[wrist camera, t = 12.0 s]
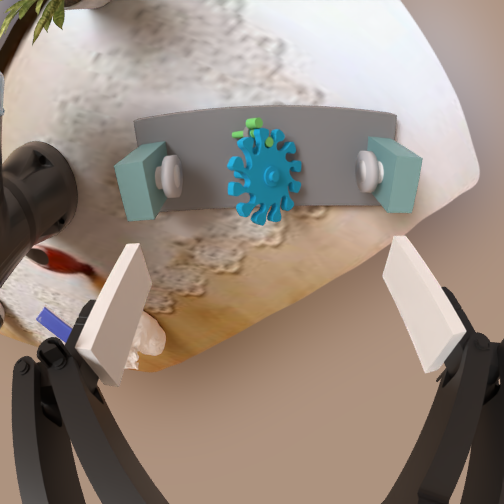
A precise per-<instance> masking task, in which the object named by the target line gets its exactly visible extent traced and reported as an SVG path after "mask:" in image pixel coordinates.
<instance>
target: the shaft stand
mask: <svg viewBox="0 0 504 504" xmlns="http://www.w3.org/2000/svg"><path fill="white" fill-rule="evenodd" d="M258 117H259V118H261V119H262V121H263V125H262V127H261V128H266V129H268V130H269V136H268V137H270V134H271V131H272V130H273V129H280V130H281V131H282V132H283V133H284V135H285V138H284V140H283V141H280V142H278V143H277V150H280V149H281V148H282V147H283V145H284V143H285V142H294V144H295V147H296V152H295V153H294V154H289V153H286V156H285V157H286V160H287V161H288V162H291V161H293V160H295V161H301V172H292V171H291V170H289V173H290V175H291V177H292V178H293V179H294V180H295V181H299V182H300V183H301V187H300V190H299V192H298V193H294V192H290V191H289V187H288V193H289V196H290V198H291V199H292V200H293V202H294V206H307V205H368V206H382V207H383V208H384V209H385V210H386V212H387V213H412V210H413V205H414V201H415V196H416V192H417V187H418V182H419V176H420V171H421V165H422V158H421V157H419V156H418V155H416V154H415V153H413V152H412V151H410V150H409V149H407V148H405V147H404V146H402V145H401V144H399V143H397V142H396V141H394V140H395V130H396V119H397V115H395V114H392V113H387V112H380V111H372V110H363V109H353V108H341V107H326V106H301V105H266V106H240V107H225V108H213V109H202V110H193V111H185V112H177V113H170V114H164V115H158V116H152V117H146V118H140V119H137V120H135V121H134V127H135V133H136V139H137V145H138V148H136V149H135V150H134V151H132V152H131V153H130V154H128V155H127V156H126V157H125V158H123V159H122V160H121V161H119V162H118V163H117V164H116V165H115V166H114V168H115V173H116V177H117V181H118V185H119V190H120V194H121V197H122V201H123V205H124V209H125V213H126V216H127V220H128V221H139V220H153V219H155V218H156V216H157V214H158V213H159V212H166V211H181V210H197V209H215V208H236V205H237V204H238V203H240V202H243V203H248V202H249V200H250V195H249V194H248V193H243V194H241V195H239V196H230V195H228V183H229V182H239V183H241V184H242V186H244V184H245V180H244V179H239V178H235V177H234V171H231V170H229V169H228V168H227V164H228V162H229V160H230V158H231V157H234V156H238V157H241V158H242V160H243V163H244V167H245V168H246V159H245V155H244V153H243V152H242V150H241V149H240V148H239V147H238V145H237V141H238V140H240V139H241V138H233V137H232V133H233V132H237V131H243V130H244V128H245V127H246V120H247V119H251V118H258ZM281 201H282V198H281ZM271 206H272V205H271ZM280 206H281V202H280ZM255 207H260V204H258V205H256V206H255Z"/></svg>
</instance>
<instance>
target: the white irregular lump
mask: <svg viewBox="0 0 504 504" xmlns="http://www.w3.org/2000/svg"><path fill="white" fill-rule="evenodd" d="M165 343H166V335H165V332H164V330H163V329H162V328H161V327H160V326H159V324H158V322H157V320H156V319H154V318H153V317H151V316H150V315H149V314H147V313H146V312H144V311H143V312H142V314H141V317H140V320H139V323H138V326H137V329H136V333H135V336H134V339H133V342H132V345H131V348H130V352H129V355H128V358H127V362H126V365H125V369H126V368H131V369H133V368H135V369H137V370H138V365H139V363H138V362H137V363H135V362H136V361H137V360H138V359H139V356H138V354H137V351H140V352H141V353H143V354H146V355H153V356H155V355H159V354H161V353H162V351H163V349H164V347H165Z"/></svg>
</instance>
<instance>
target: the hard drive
mask: <svg viewBox="0 0 504 504" xmlns="http://www.w3.org/2000/svg"><path fill="white" fill-rule="evenodd" d="M36 320H37V321H38V322H39V323H41V324H42V325H43V326H44V327H46V328H47V329H48V330H49V331H51V332H52V333H53V334H55V335H56V336H57V337H59V338H60V339H61V340H63V341H64V342H65V343H66V342H67V339H68V337H69V335H70V333H71V331H72V329H73V326H71V325H70V324H69V323H67V322H66V321H65V320H64V319H62V318H61V317H60V316H59V315H57V314H56V313H55V312H54V311H52V310H51V309H50V308H49V307H48V306H46V305H45V306H44V308H43V309H42V311H41V312H40V314H39V315H38V316H37V318H36Z"/></svg>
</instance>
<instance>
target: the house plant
mask: <svg viewBox="0 0 504 504" xmlns="http://www.w3.org/2000/svg"><path fill="white" fill-rule="evenodd" d="M0 1H2V0H0ZM35 1H36V0H21V1H18V2H17V3H15V4H14V5H13V6H11V7H10V8H9V9H7V11H6V12H8V11H10V10H11V9H12V10H11V12H10V13H9V14H8V15H7V17H6V18H5V21H4V22H3V24H2V27H1V30H0V37H1V35H2V33H3V31H4V29H5V27H6V25H7V24H8V25H9V23H10V22H11V20H12V19H13V18H14V16H15V15H16V14H17V13H18V12H19V18H20V19H21V18H22V17H23V16H24V14H25V13H26V12H27V10H28V9H29V8H30V6H31V5H32V4H33V3H34V2H35ZM110 1H111V0H50V2H49V3H48V5H47V6H46V8H45V10H44V12H43V14H42V17H41V18H40V20H39V21H38V23H37V26H36V28H35V31H34V36H33V37H34V39H33V43H34V42H35V40H36V39H37V38H38V36H39V34H40V32H41V30H42V29H43V27H44V28H45V30H46V31H47V30H48V27H49V25H50V23H51V20H52V16H53V21H54V23H55V24H56V25H57V26H58V27H59V28H61V29H62V25H63V22H64V10H72V9H95V8H100V7H102V6H104V5H106V4H107V3H109V2H110ZM42 2H43V0H39V1H38V3H37V6H36V12H37V13H38V14H39V11H40V7H41V4H42ZM22 5H23V6H22ZM21 6H22V7H21ZM20 7H21V8H20ZM19 8H20V10H18V9H19ZM17 10H18V11H17ZM16 11H17V12H16ZM15 12H16V13H15ZM14 13H15V14H14ZM11 17H12V18H11ZM9 20H10V21H9ZM8 22H9V23H8ZM8 25H7V27H8ZM7 27H6V29H7ZM62 30H63V29H62ZM5 31H6V30H5ZM47 33H48V31H47ZM32 46H33V44H32Z"/></svg>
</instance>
